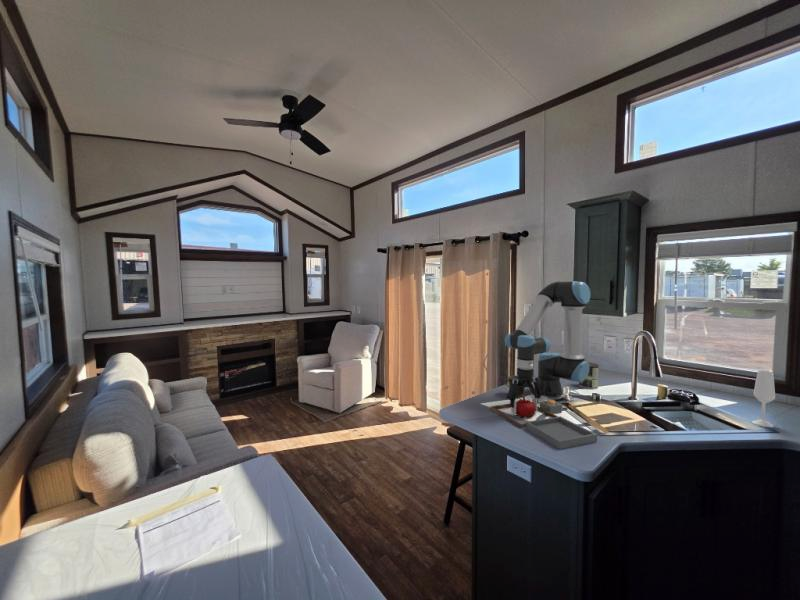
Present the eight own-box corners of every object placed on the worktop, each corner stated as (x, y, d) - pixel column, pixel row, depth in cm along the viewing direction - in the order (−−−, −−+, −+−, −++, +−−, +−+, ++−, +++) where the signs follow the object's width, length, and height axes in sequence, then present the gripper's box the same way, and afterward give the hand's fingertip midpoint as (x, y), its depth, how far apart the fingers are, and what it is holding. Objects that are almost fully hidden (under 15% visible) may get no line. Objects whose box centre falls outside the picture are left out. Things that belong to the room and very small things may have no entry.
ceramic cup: (518, 391, 193) (518, 374, 193) (530, 397, 184) (530, 379, 184) (499, 393, 189) (499, 376, 189) (510, 399, 180) (510, 381, 179)
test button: (550, 406, 166) (551, 398, 166) (557, 409, 162) (557, 401, 162) (544, 407, 165) (544, 399, 165) (550, 410, 161) (550, 402, 161)
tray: (559, 422, 150) (560, 416, 150) (596, 441, 132) (597, 434, 132) (525, 428, 144) (525, 421, 144) (559, 449, 126) (559, 441, 126)
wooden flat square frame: (527, 404, 173) (527, 401, 173) (561, 421, 151) (561, 418, 151) (489, 409, 166) (490, 406, 166) (520, 428, 144) (520, 424, 144)
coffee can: (583, 388, 199) (583, 365, 198) (576, 383, 209) (576, 361, 208) (601, 389, 197) (602, 366, 197) (593, 384, 208) (594, 362, 207)
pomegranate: (539, 419, 155) (540, 399, 154) (519, 420, 153) (520, 400, 152) (527, 410, 164) (528, 392, 164) (509, 411, 163) (510, 393, 162)
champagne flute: (775, 428, 145) (778, 374, 144) (752, 424, 149) (755, 371, 148) (772, 423, 150) (775, 371, 149) (750, 419, 154) (753, 369, 153)
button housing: (550, 407, 168) (551, 400, 168) (561, 412, 162) (561, 404, 161) (539, 409, 166) (540, 401, 166) (550, 414, 159) (550, 406, 159)
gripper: (509, 371, 150) (508, 418, 151) (551, 367, 158) (549, 412, 159) (499, 367, 157) (498, 412, 158) (539, 364, 165) (538, 406, 166)
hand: (524, 412), depth 158 cm, fingers open, 12 cm apart
